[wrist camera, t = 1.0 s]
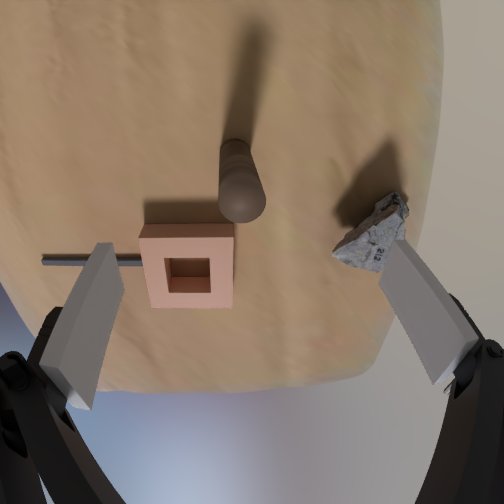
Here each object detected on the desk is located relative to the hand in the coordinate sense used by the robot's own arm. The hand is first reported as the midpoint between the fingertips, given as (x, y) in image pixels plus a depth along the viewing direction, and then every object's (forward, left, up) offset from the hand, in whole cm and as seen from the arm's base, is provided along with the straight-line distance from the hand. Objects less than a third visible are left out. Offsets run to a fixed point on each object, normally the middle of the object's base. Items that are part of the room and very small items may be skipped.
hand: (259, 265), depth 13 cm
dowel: (0, 0, -19) cm, 19 cm away
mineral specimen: (+8, +16, -19) cm, 26 cm away
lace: (+13, -18, -19) cm, 29 cm away
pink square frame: (+13, -5, -19) cm, 23 cm away
